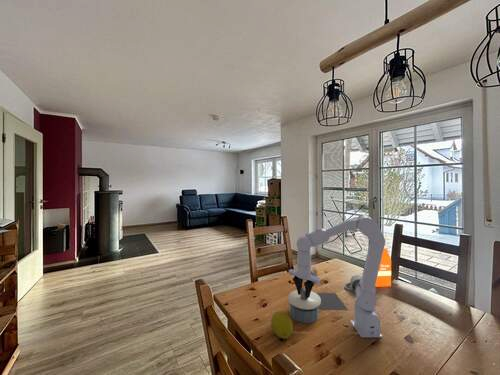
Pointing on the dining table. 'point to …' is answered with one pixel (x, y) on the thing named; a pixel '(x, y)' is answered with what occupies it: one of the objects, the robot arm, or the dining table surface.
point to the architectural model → (314, 272)
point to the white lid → (304, 300)
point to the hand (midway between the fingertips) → (303, 295)
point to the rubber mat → (330, 302)
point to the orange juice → (384, 270)
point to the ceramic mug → (353, 283)
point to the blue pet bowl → (303, 314)
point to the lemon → (282, 325)
